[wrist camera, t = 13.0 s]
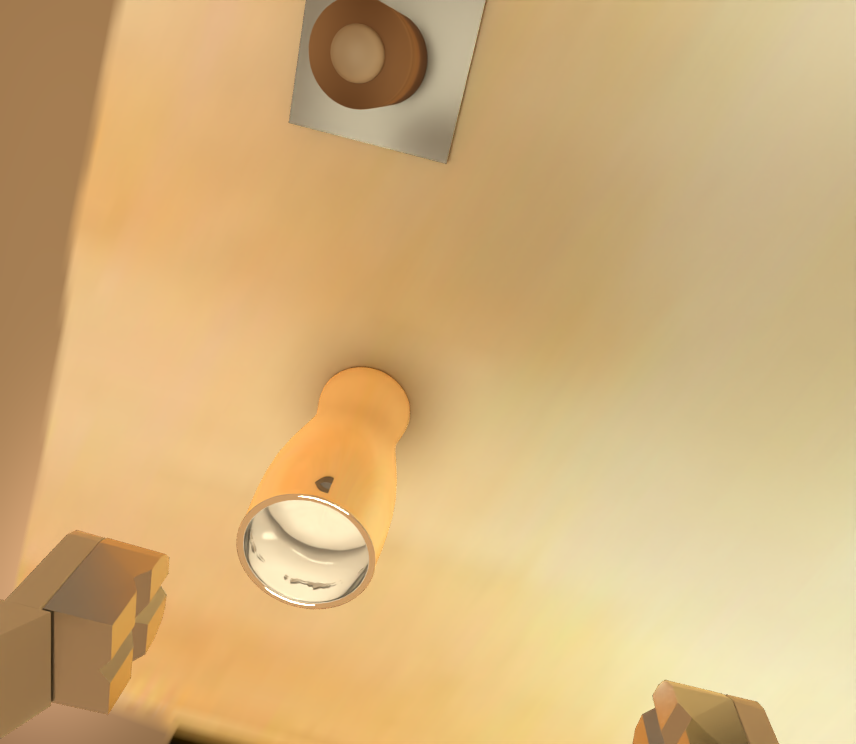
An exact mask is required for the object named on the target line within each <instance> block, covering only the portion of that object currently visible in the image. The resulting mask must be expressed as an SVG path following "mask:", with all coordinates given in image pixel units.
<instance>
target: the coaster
mask: <svg viewBox="0 0 856 744" xmlns="http://www.w3.org/2000/svg"><path fill="white" fill-rule="evenodd" d="M335 1H336V0H306V4H305V11H304V18H303V25H302V32H301V39H300V46H299V53H298V61H297V68H296V75H295V82H294V89H293V96H292V103H291V110H290V118H289V123H291V124H295V125H299V126H303V127H306V128H310V129H314V130H318V131H322V132H326V133H330V134H333V135H337V136H341V137H345V138H349V139H353V140H356V141H360V142H364V143H368V144H372V145H376V146H379V147H383V148H387V149H391V150H395V151H399V152H403V153H406V154H410V155H414V156H418V157H422V158H426V159H429V160H433V161H437V162H441V163H445V164H447V161H448V157H449V153H450V149H451V145H452V140H453V136H454V132H455V128H456V124H457V120H458V115H459V111H460V107H461V103H462V99H463V95H464V90H465V86H466V82H467V78H468V74H469V70H470V65H471V61H472V57H473V53H474V49H475V45H476V40H477V36H478V32H479V28H480V24H481V20H482V15H483V11H484V7H485V3H486V0H379V1H381V2H383V3H384V4H386V5H388V6H389V7H391V8H393V9H395V10H396V11H398V12H400V13H401V14H403V15H405V16H406V17H408V18H409V19H410V20H411V21H412V22H413V23H414V24H415V25H416V26H417V27H418V29H419V30H420V32H421V34H422V36H423V38H424V41H425V44H426V48H427V58H428V61H427V69H426V73H425V76H424V79H423V81H422V83H421V85H420V86H419V88H418V89H417V91H416V92H415V93H414V94H413V95H412V96H411V97H409V98H408V99H406V100H405V101H403V102H401V103H398V104H395V105H390V106H384V107H378V108H372V109H365V110H358V109H351V108H347V107H345V106H342V105H340V104H338V103H336V102H335V101H333V100H332V99H331V98H329V97H328V96H327V95H326V94H325V93H324V92H323V90H322V89H321V88H320V86H319V85H318V83H317V81H316V80H315V77H314V75H313V73H312V70H311V66H310V61H309V39H310V35H311V31H312V28H313V26H314V24H315V22H316V20H317V18H318V17H319V15H320V14H321V13H322V11H323V10H324V9H325V8H326V7H327V6H329V5H330V4H331V3H333V2H335Z"/></svg>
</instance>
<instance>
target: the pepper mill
mask: <svg viewBox="0 0 856 744" xmlns="http://www.w3.org/2000/svg"><path fill="white" fill-rule="evenodd" d="M309 61H310V66H311V70H312V73H313V75H314V77H315V80H316V81H317V83H318V85H319V86H320V88H321V89H322V90H323V92H324V93H325V94H326V95H327V96H328V97H329V98H331V99H332V100H333V101H335V102H336V103H338V104H340V105H342V106H345V107H347V108H351V109H358V110H365V109H372V108H378V107H384V106H390V105H395V104H398V103H401V102H403V101H405V100H406V99H408V98H409V97H411V96H412V95H413V94H414V93H415V92H416V91H417V89H418V88H419V86H420V85H421V83H422V81H423V79H424V76H425V73H426V69H427V61H428V58H427V48H426V44H425V41H424V38H423V36H422V34H421V32H420V30H419V29H418V27H417V26H416V25H415V24H414V23H413V22H412V21H411V20H410V19H409V18H408V17H406V16H405V15H403V14H401V13H400V12H398V11H396V10H395V9H393V8H391V7H389V6H388V5H386V4H384V3H383V2H381V1H379V0H336V1H335V2H333V3H331V4H330V5H329V6H327V7H326V8H325V9H324V10H323V11H322V13H321V14H320V15H319V17H318V18H317V20H316V22H315V24H314V26H313V28H312V31H311V35H310V39H309Z"/></svg>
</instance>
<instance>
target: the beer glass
mask: <svg viewBox="0 0 856 744" xmlns="http://www.w3.org/2000/svg"><path fill="white" fill-rule="evenodd" d="M409 419H410V405H409V401H408V398H407V396H406V393H405V392H404V390H403V388H402V387H401V386H400V385H399V383H398V382H397V381H396V380H394V379H393V378H392V377H391V376H389V375H388V374H386V373H384V372H382V371H380V370H377V369H373V368H368V367H354V368H349V369H346V370H343V371H341V372H339V373H337V374H336V375H334V376H333V377H332V378H331V379H330V380H329V381H328V382H327V383H326V385H325V386H324V388H323V390H322V392H321V394H320V398H319V402H318V409H317V414H316V415H315V416H314V417H313V418H312V419H311V420H310V421H309V422H308V423H307V424H306V425H305V426H304V427H302V428H301V429H300V430H299V431H298V432H297V433H296V434H295V435H294V436H293V437H292V438H291V439H290V440H289V441H288V442H287V443H286V444H285V446H284V447H283V448H282V449H281V450H280V451H279V452H278V454H277V455H276V457H275V458H274V460H273V461H272V463H271V464H270V466H269V467H268V469H267V470H266V472H265V474H264V476H263V478H262V480H261V482H260V484H259V486H258V488H257V490H256V492H255V494H254V496H253V499H252V501H251V503H250V506H249V508H248V511H247V513H246V515H245V517H244V519H243V520H242V522H241V524H240V527H239V529H238V533H237V552H238V557H239V560H240V562H241V565H242V567H243V569H244V570H245V572H246V573H247V575H248V576H249V578H250V579H251V580H252V581H253V582H254V583H255V584H256V585H257V586H258V587H259V588H260V589H261V590H263V591H264V592H265V593H267V594H268V595H270V596H271V597H273V598H275V599H277V600H279V601H281V602H283V603H286V604H289V605H292V606H296V607H300V608H306V609H326V608H332V607H336V606H340V605H342V604H345V603H347V602H349V601H351V600H353V599H354V598H356V597H357V596H358V595H360V594H361V593H362V592H363V591H364V590H365V588H366V587H367V586H368V584H369V583H370V581H371V579H372V577H373V574H374V571H375V566H376V564H377V561H378V559H379V556H380V554H381V551H382V548H383V546H384V543H385V540H386V537H387V534H388V531H389V528H390V524H391V521H392V517H393V511H394V506H395V501H396V486H397V472H396V453H395V447H396V444H397V442H398V441H399V440H400V438H401V437H402V435H403V434H404V432H405V430H406V428H407V426H408V423H409Z"/></svg>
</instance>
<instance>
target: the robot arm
mask: <svg viewBox="0 0 856 744" xmlns="http://www.w3.org/2000/svg"><path fill="white" fill-rule="evenodd" d="M168 574H169V557H168V556H167V555H166V554H163V553H160V552H156V551H153V550H149V549H146V548H142V547H138V546H135V545H131V544H128V543H124V542H120V541H117V540H113V539H110V538H103V537H100V536H96V535H93V534H89V533H86V532H82V531H79V530H76V531H73V532H71V533H69V534H68V535H66V536H65V537H64V538H63V539H62V540H61V541H60V543H59V544H58V545H57V546H56V547H55V548H54V549H53V550H52V551H51V552H50V553H49V554H48V555H47V556H46V557H45V558H44V559H43V560H42V562H41V563H40V564H39V565H38V566H37V567H36V568H35V569H34V570H33V571H32V572H31V573H30V574H29V575H28V576H27V577H26V578H25V580H24V581H23V582H22V583H21V584H20V585H19V586H18V587H17V588H16V589H15V590H14V591H13V592H12V593H11V594H10V595H9V596H8V597H7V599H6V600H1V599H0V739H1V738H3V737H4V736H6V735H7V734H9V733H10V732H12V731H13V730H15V729H16V728H18V727H19V726H21V725H22V724H24V723H26V722H27V721H29V720H30V719H32V718H33V717H34V716H36V715H38V714H39V713H41V712H42V711H44V710H45V709H47V708H48V707H50V706H51V702H53V703H57V704H62V705H66V706H71V707H75V708H80V709H85V710H89V711H94V712H98V713H103V714H109V712H110V711H111V709H112V708H113V706H114V704H115V703H116V701H117V700H118V698H119V696H120V695H121V693H122V691H123V690H124V688H125V687H126V685H127V683H128V682H129V680H130V679H131V671H132V661H134V660H136V659H137V658H139V657H141V656H143V655H145V654H146V652H147V650H148V649H149V647H150V645H151V644H152V642H153V640H154V638H155V636H156V634H157V631H158V629H159V626H160V624H161V621H162V618H163V614H164V610H165V605H166V596H167V594H166V593H165V591H164V590H163V588H162V587H161V584H162V583H163V581H164V580H165V578H166V577H167V575H168ZM652 696H653V700H654V704H655V708H654V709H652V710H650V711H648V712H646V713H644V714H642V716H641V718H640V720H639V722H638V724H637V726H636V728H635V733H634V739H633V744H779V743H778V741H777V738H776V736H775V734H774V731H773V729H772V727H771V724H770V722H769V719H768V717H767V715H766V712H765V710H764V708H763V707H762V706H761V705H760V704H759V703H758V702H756V701H752V700H748V699H743V698H739V697H735V696H731V695H724V694H722V693H718V692H714V691H710V690H705V689H701V688H697V687H693V686H689V685H685V684H681V683H676V682H672V681H668V680H664V681H663V682H661V683H660V684H659V685H658V686H657V688H656V690H655V692H654V693H653V695H652Z"/></svg>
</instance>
